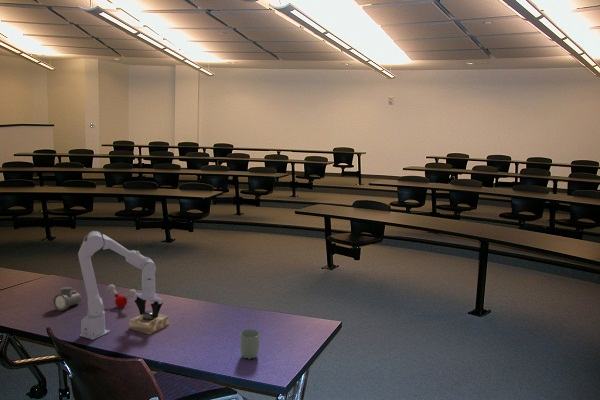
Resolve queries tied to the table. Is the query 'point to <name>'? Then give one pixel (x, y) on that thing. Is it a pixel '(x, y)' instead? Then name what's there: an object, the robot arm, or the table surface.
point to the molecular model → (121, 300)
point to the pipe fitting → (66, 298)
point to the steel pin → (148, 315)
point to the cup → (249, 343)
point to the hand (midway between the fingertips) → (149, 316)
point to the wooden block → (148, 324)
